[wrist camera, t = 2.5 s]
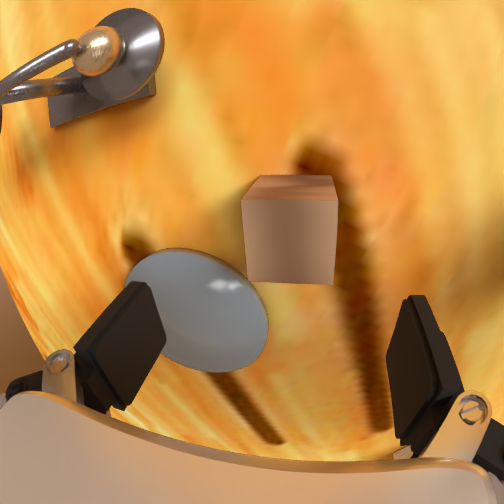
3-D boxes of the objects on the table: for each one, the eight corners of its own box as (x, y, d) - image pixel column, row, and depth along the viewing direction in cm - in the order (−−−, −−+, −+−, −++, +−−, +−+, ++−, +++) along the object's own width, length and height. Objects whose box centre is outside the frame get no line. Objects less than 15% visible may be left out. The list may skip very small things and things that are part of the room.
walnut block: (331, 175, 19) (338, 200, 14) (329, 240, 21) (332, 284, 16) (260, 174, 20) (240, 200, 15) (264, 238, 22) (247, 281, 17)
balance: (198, 19, 15) (78, -42, 4) (204, 91, 18) (70, 86, 7) (33, 89, 19) (-65, 112, 8) (38, 139, 22) (-59, 177, 11)
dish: (264, 250, 23) (262, 257, 22) (270, 371, 29) (269, 379, 28) (113, 245, 26) (106, 251, 25) (151, 353, 33) (147, 359, 32)
